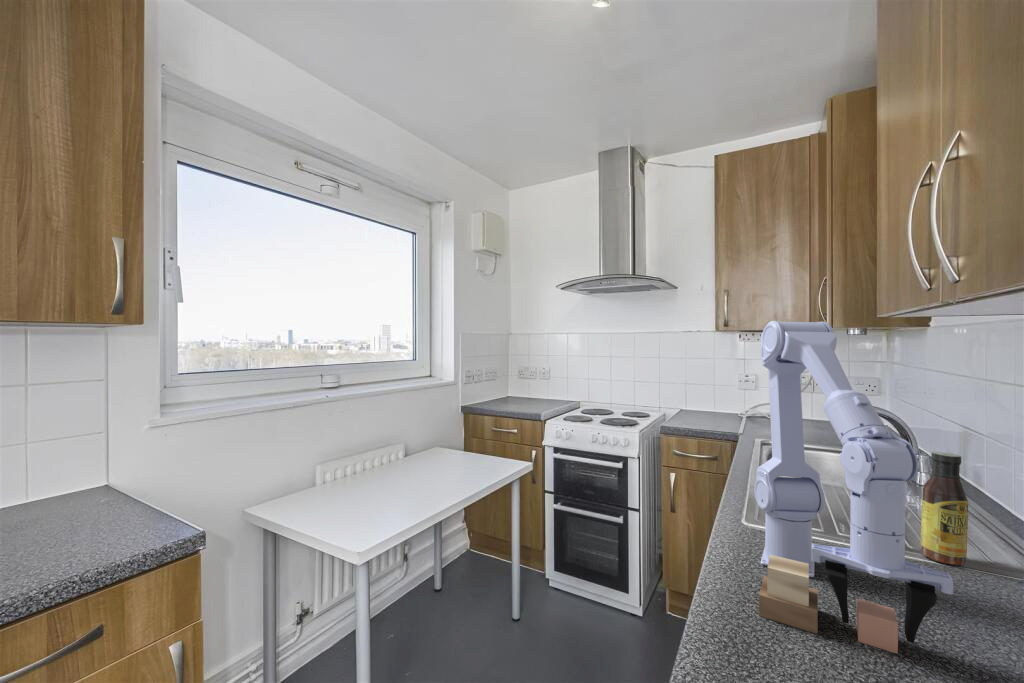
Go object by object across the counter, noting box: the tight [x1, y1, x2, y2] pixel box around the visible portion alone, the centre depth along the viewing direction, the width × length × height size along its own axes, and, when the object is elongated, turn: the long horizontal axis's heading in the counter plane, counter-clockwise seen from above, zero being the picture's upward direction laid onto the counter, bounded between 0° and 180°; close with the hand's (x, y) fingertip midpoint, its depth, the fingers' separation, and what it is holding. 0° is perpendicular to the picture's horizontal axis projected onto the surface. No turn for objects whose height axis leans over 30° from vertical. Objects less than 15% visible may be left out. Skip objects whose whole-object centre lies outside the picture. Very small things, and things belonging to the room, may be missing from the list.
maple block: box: [767, 555, 810, 607], centre depth 65 cm, size 5×5×4 cm
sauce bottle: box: [919, 451, 969, 566], centre depth 83 cm, size 7×6×20 cm
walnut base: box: [758, 575, 819, 635], centre depth 65 cm, size 7×7×3 cm
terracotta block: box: [856, 598, 899, 654], centre depth 60 cm, size 4×4×4 cm
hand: (876, 628), depth 60 cm, fingers open, 6 cm apart
